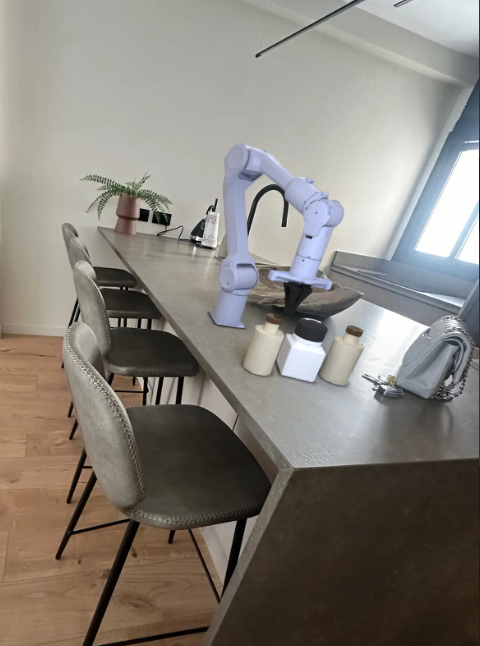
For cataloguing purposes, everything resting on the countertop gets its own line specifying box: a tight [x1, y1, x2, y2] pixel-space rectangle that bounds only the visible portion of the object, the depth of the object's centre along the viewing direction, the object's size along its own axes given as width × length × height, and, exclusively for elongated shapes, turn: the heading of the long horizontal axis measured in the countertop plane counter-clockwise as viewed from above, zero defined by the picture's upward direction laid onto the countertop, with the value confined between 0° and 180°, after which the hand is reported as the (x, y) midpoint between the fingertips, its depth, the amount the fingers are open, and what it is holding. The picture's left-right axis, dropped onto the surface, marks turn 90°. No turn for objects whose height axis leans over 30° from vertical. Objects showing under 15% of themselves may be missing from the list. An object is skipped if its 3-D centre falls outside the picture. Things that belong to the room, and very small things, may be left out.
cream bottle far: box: [318, 324, 365, 386], centre depth 80 cm, size 6×6×12 cm
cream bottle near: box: [242, 312, 285, 377], centre depth 77 cm, size 6×6×12 cm
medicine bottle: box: [276, 317, 329, 383], centre depth 79 cm, size 7×7×12 cm
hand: (287, 313), depth 88 cm, fingers closed
